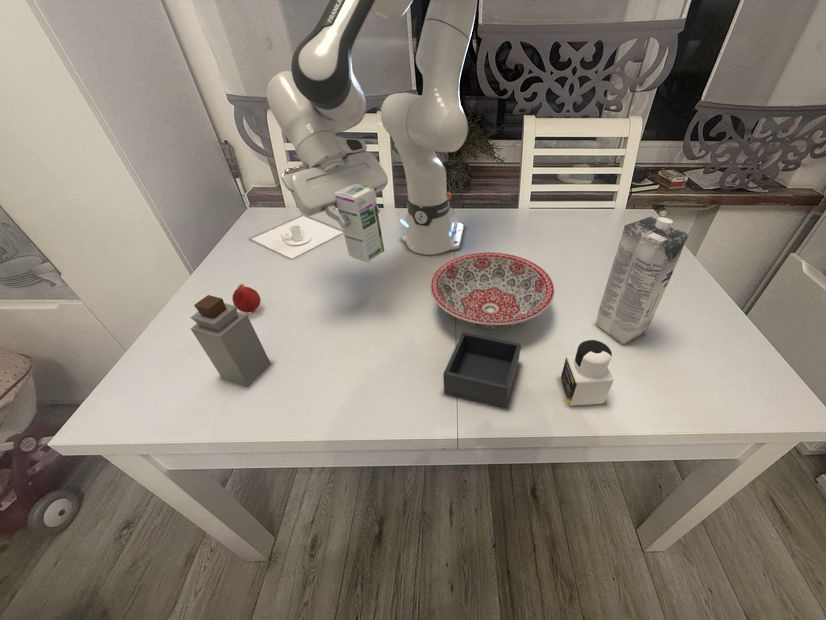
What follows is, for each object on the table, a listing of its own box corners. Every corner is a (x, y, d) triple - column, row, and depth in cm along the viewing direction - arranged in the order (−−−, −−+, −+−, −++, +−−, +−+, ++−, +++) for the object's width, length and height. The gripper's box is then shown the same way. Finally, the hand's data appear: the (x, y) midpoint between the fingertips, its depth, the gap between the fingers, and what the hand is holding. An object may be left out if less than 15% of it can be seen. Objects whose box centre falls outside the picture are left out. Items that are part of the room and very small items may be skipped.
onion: (256, 320, 93) (243, 293, 88) (234, 317, 94) (220, 290, 89) (269, 306, 98) (258, 279, 92) (248, 303, 98) (236, 276, 93)
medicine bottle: (559, 379, 81) (570, 336, 73) (593, 377, 81) (608, 334, 73) (569, 406, 76) (582, 363, 67) (604, 404, 76) (622, 361, 68)
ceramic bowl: (534, 364, 84) (539, 337, 78) (411, 332, 91) (408, 305, 85) (559, 290, 103) (564, 264, 98) (457, 269, 111) (456, 243, 105)
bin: (462, 351, 86) (462, 331, 82) (518, 363, 84) (521, 343, 80) (444, 394, 78) (443, 373, 74) (505, 408, 75) (508, 388, 71)
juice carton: (623, 349, 87) (667, 239, 69) (589, 323, 94) (621, 216, 75) (649, 335, 91) (698, 227, 72) (615, 311, 97) (651, 206, 79)
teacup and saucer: (278, 240, 121) (273, 228, 118) (299, 230, 126) (295, 218, 123) (296, 249, 118) (292, 236, 115) (317, 238, 123) (313, 226, 120)
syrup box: (368, 263, 85) (356, 197, 75) (348, 256, 87) (332, 191, 77) (385, 251, 88) (375, 187, 78) (364, 245, 90) (352, 181, 80)
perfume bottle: (270, 363, 83) (237, 295, 71) (248, 386, 79) (208, 317, 66) (245, 356, 85) (208, 287, 72) (221, 378, 80) (177, 308, 68)
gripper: (278, 162, 71) (320, 230, 73) (370, 138, 82) (404, 197, 84) (274, 180, 76) (314, 243, 78) (361, 155, 87) (394, 211, 89)
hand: (361, 219), depth 81 cm, fingers closed on syrup box, 6 cm apart
